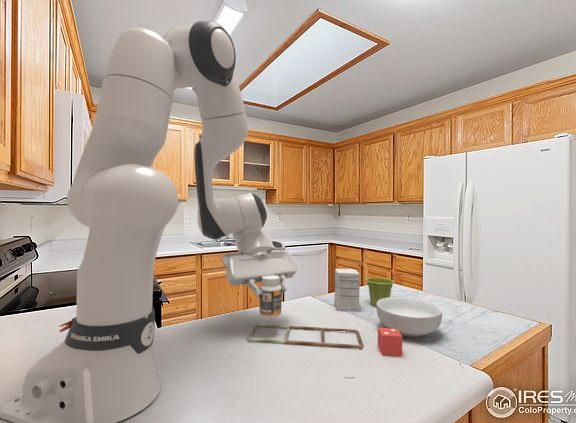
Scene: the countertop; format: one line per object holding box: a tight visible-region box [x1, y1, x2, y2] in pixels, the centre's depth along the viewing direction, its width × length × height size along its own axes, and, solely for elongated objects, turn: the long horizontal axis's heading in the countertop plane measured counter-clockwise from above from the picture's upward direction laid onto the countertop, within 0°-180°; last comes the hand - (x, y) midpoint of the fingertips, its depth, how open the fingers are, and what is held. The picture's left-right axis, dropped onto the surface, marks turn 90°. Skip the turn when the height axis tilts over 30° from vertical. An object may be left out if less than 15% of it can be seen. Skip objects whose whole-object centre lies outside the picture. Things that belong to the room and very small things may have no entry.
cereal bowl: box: [376, 296, 443, 338], centre depth 80 cm, size 17×17×7 cm
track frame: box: [246, 323, 365, 350], centre depth 75 cm, size 28×10×1 cm, turn 84°
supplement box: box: [334, 268, 361, 312], centre depth 98 cm, size 7×7×13 cm
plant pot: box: [365, 277, 395, 308], centre depth 102 cm, size 9×9×9 cm
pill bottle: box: [258, 275, 283, 319], centre depth 76 cm, size 6×6×10 cm
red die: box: [377, 327, 403, 357], centre depth 68 cm, size 4×4×5 cm
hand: (272, 293), depth 75 cm, fingers closed on pill bottle, 6 cm apart
